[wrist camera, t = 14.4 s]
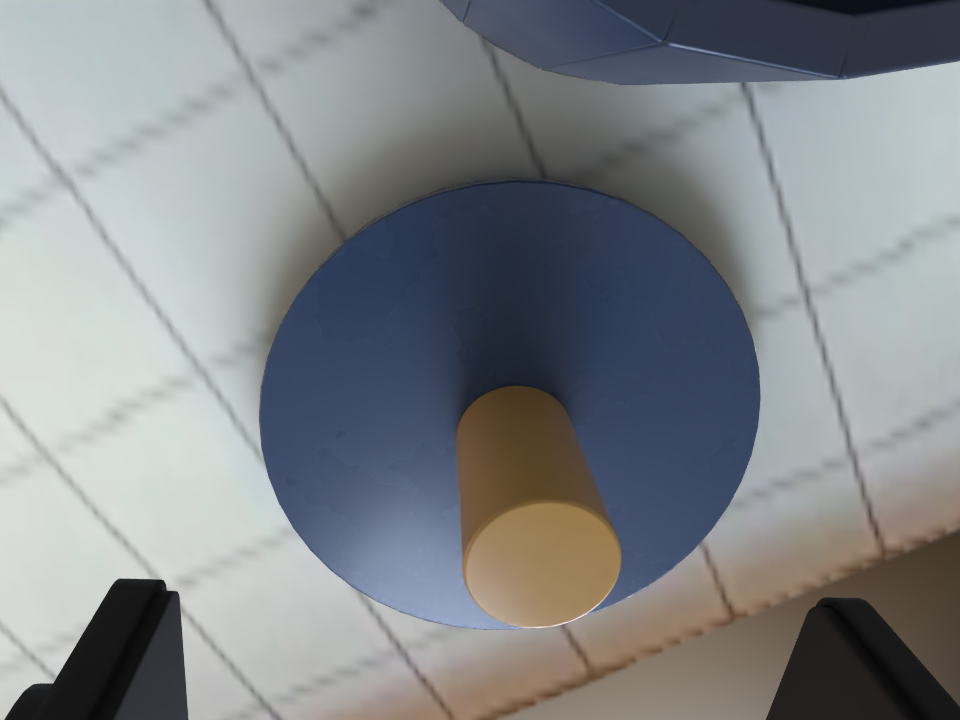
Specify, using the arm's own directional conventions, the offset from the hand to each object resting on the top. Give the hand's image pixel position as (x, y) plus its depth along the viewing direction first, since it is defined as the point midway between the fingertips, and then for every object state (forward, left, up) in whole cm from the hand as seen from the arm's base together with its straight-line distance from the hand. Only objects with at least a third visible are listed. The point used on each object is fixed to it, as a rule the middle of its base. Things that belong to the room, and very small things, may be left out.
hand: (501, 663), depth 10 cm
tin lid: (+1, 0, -8) cm, 8 cm away
